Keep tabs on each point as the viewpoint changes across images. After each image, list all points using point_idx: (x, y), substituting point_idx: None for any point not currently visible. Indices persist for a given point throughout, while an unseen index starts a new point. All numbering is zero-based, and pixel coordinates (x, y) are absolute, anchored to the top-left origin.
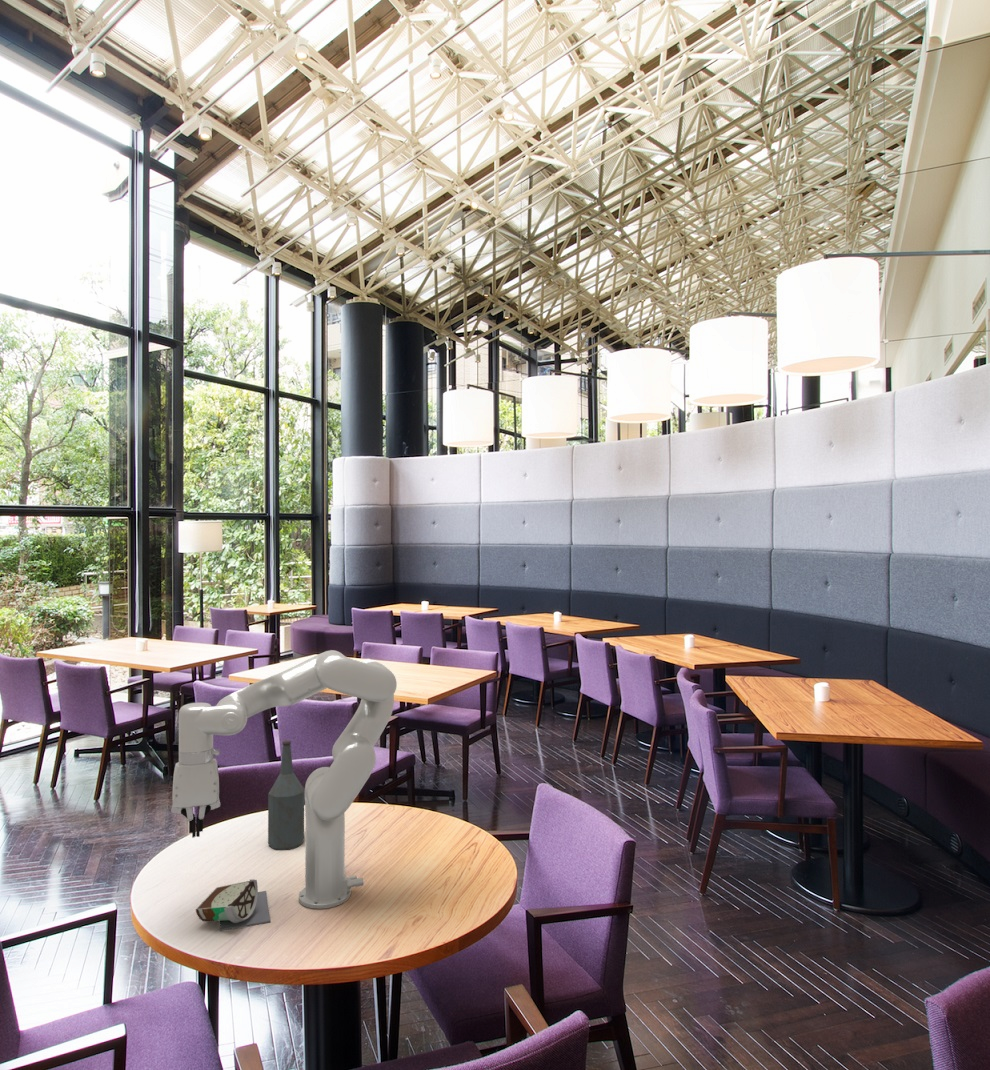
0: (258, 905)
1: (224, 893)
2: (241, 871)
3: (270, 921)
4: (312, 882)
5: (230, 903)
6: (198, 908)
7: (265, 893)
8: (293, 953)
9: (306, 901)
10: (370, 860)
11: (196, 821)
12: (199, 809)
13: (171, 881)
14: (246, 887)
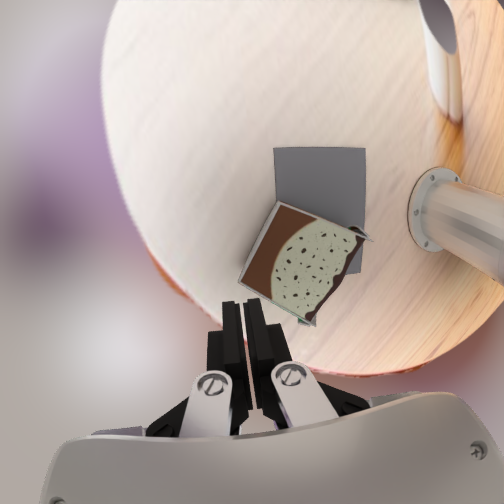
0: (349, 209)
1: (299, 251)
2: (311, 29)
3: (359, 271)
4: (443, 245)
5: (310, 310)
6: (243, 279)
7: (363, 160)
8: (366, 350)
9: (417, 234)
10: (488, 112)
11: (258, 406)
12: (282, 411)
13: (159, 34)
14: (348, 261)
